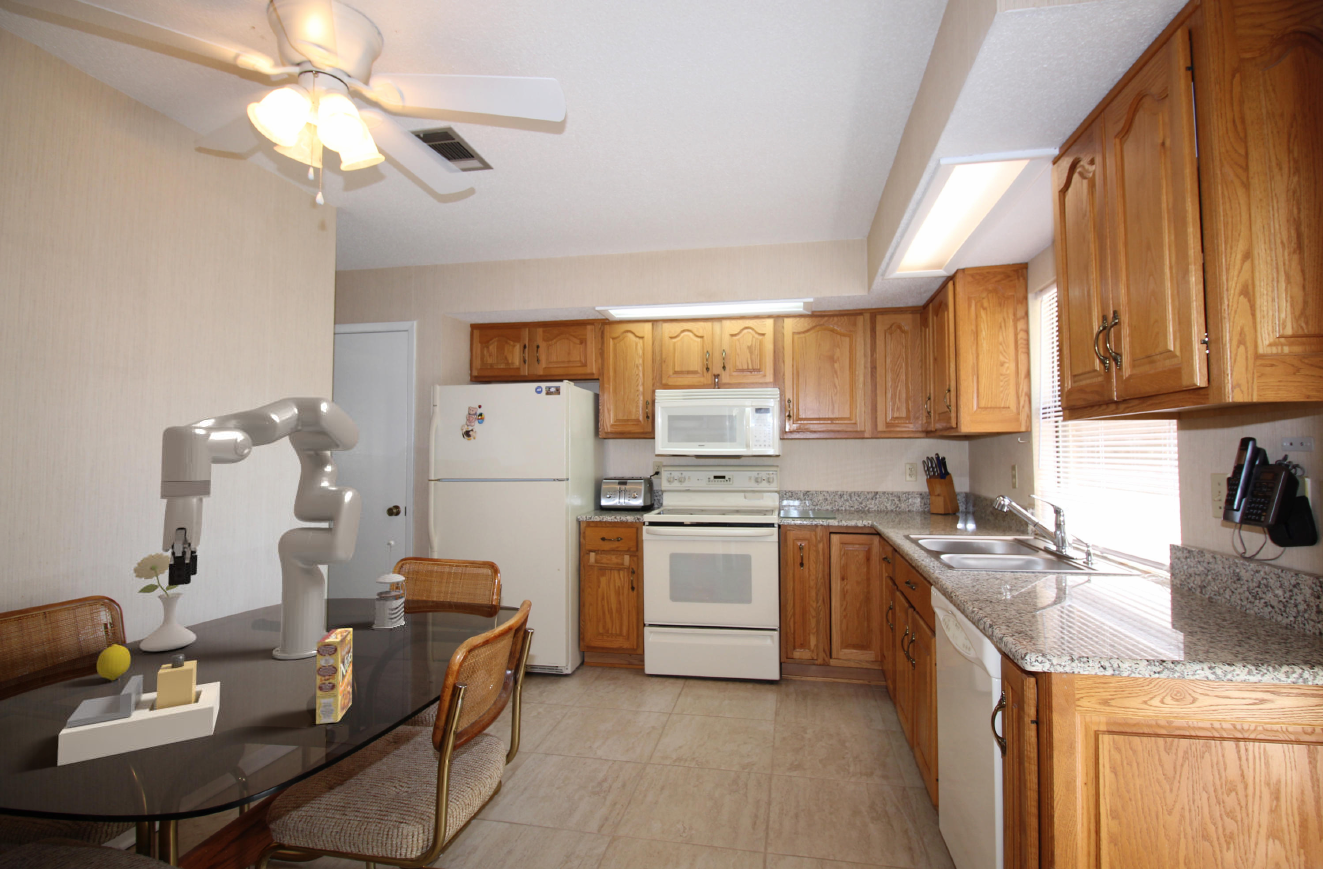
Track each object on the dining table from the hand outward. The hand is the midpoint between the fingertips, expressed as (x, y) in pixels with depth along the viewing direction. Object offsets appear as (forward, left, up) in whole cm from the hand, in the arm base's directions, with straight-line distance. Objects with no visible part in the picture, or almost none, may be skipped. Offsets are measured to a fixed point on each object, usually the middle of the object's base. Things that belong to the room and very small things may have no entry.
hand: (183, 580), depth 113 cm
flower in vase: (+9, -55, -26) cm, 62 cm away
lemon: (+15, -33, -26) cm, 45 cm away
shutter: (+10, +4, -21) cm, 23 cm away
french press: (-44, -47, -26) cm, 70 cm away
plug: (0, +4, -25) cm, 26 cm away
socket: (+4, +4, -26) cm, 27 cm away
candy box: (-25, +13, -26) cm, 39 cm away
